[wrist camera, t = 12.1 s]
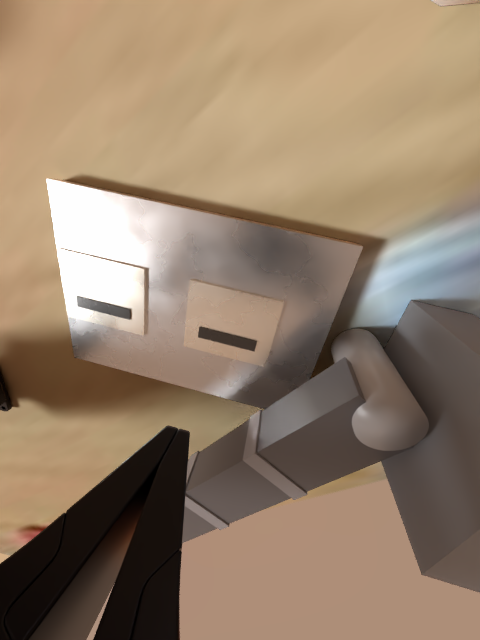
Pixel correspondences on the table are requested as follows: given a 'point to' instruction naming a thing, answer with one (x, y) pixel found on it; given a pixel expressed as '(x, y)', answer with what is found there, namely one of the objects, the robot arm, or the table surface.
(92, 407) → the table surface
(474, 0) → the foam cup
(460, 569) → the post
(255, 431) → the bar
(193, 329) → the panel
